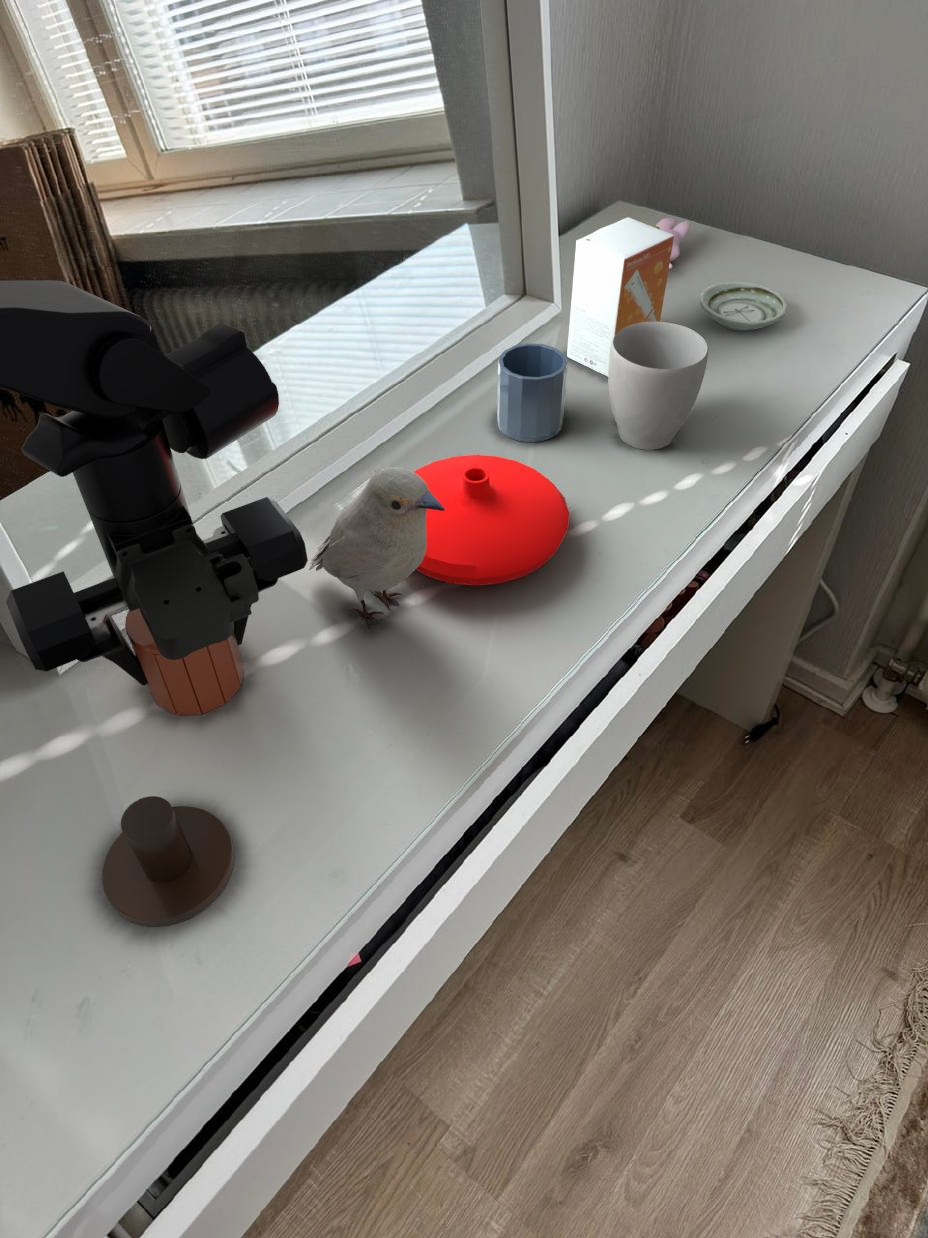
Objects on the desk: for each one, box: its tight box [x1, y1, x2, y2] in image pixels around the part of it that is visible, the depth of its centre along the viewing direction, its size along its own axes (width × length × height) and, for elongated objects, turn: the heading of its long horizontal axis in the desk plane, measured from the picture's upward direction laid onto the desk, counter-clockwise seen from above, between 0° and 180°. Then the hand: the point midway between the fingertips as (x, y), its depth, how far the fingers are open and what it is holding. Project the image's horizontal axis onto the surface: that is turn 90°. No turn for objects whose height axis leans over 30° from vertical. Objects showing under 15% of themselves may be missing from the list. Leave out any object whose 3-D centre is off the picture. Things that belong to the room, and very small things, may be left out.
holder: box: [101, 795, 235, 927], centre depth 56 cm, size 8×8×6 cm
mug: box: [607, 321, 709, 451], centre depth 87 cm, size 12×9×10 cm
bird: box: [308, 466, 445, 630], centre depth 68 cm, size 5×14×15 cm, turn 56°
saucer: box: [699, 281, 788, 332], centre depth 104 cm, size 10×10×2 cm
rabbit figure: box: [654, 217, 691, 270], centre depth 113 cm, size 6×6×15 cm
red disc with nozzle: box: [413, 454, 570, 586], centre depth 77 cm, size 16×16×7 cm
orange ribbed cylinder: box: [124, 608, 245, 716], centre depth 66 cm, size 7×7×7 cm
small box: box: [566, 216, 674, 378], centre depth 96 cm, size 8×6×13 cm
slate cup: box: [496, 342, 569, 443], centre depth 89 cm, size 6×6×7 cm
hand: (190, 661), depth 67 cm, fingers closed on orange ribbed cylinder, 7 cm apart
